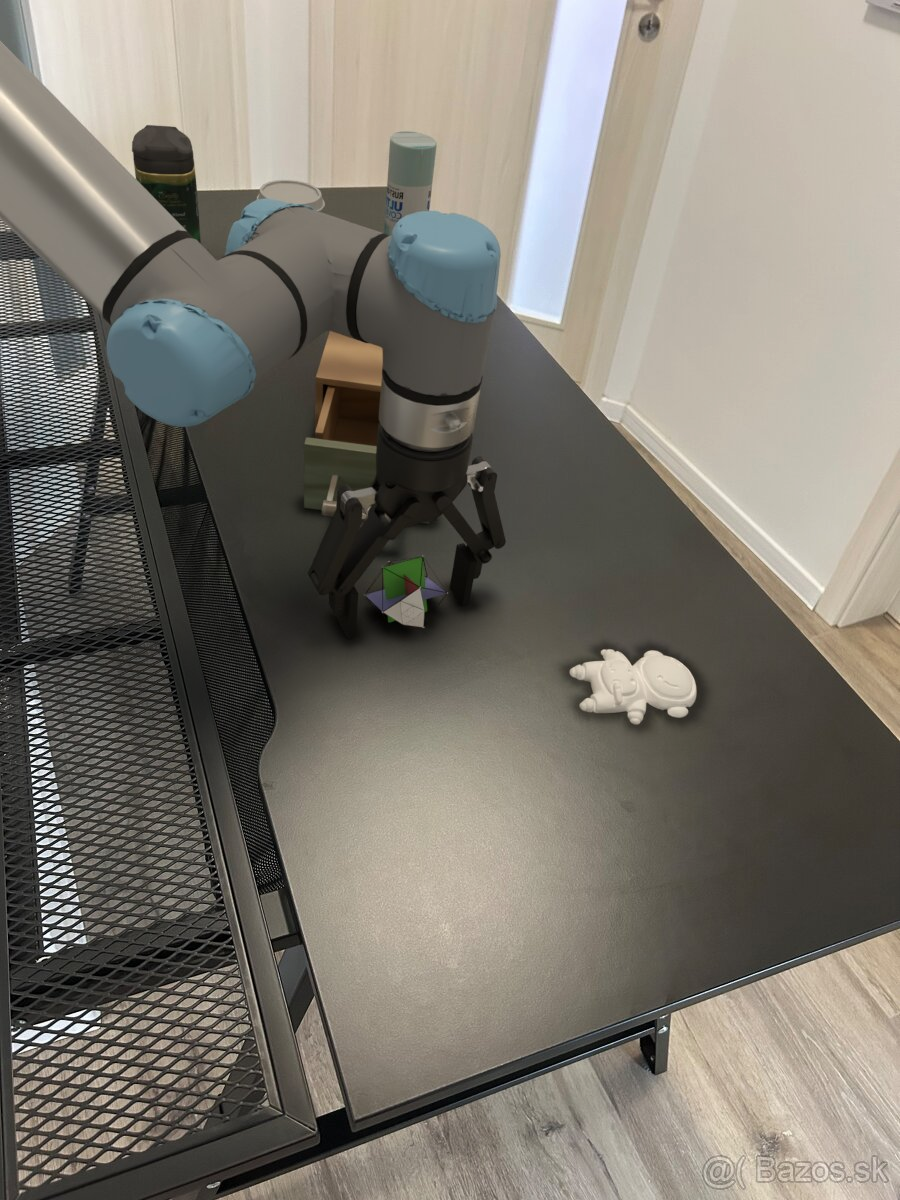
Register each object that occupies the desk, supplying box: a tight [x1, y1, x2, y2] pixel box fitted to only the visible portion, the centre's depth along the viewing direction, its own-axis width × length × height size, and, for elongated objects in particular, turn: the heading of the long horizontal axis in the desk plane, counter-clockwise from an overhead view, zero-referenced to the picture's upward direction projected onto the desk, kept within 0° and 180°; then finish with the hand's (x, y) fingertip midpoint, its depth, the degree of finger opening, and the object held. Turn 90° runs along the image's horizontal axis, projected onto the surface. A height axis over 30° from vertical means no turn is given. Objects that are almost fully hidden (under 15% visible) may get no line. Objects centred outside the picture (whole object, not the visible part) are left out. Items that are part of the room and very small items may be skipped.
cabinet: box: [314, 331, 383, 432], centre depth 102 cm, size 18×15×10 cm
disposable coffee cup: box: [256, 179, 326, 213], centre depth 124 cm, size 10×10×12 cm
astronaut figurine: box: [569, 648, 697, 725], centre depth 78 cm, size 9×12×3 cm
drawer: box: [303, 385, 430, 525], centre depth 91 cm, size 22×13×8 cm, turn 177°
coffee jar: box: [131, 124, 202, 245], centre depth 118 cm, size 10×8×19 cm
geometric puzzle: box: [363, 554, 449, 631], centre depth 80 cm, size 7×7×8 cm
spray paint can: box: [383, 130, 437, 235], centre depth 125 cm, size 6×6×20 cm
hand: (403, 616), depth 82 cm, fingers open, 11 cm apart
